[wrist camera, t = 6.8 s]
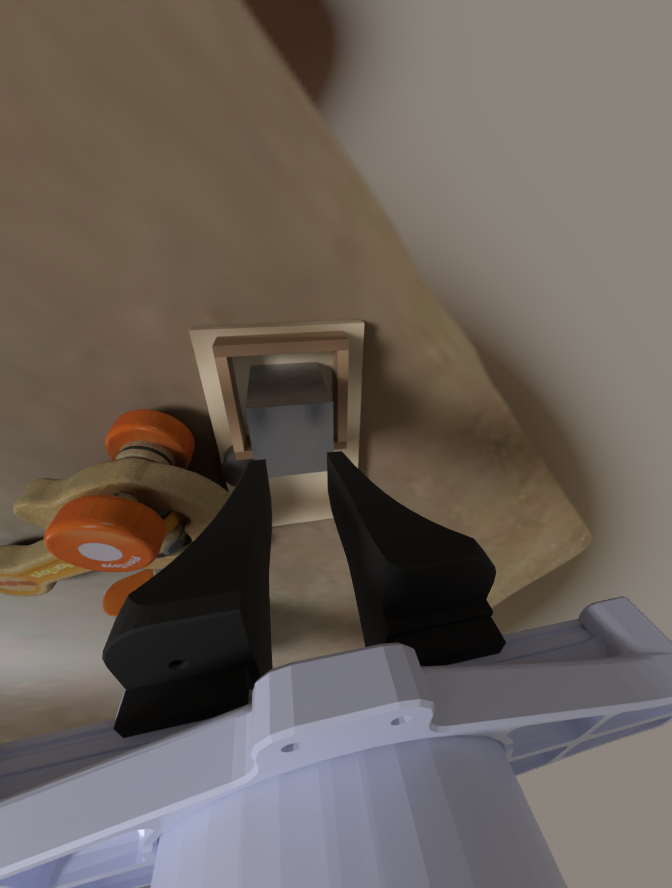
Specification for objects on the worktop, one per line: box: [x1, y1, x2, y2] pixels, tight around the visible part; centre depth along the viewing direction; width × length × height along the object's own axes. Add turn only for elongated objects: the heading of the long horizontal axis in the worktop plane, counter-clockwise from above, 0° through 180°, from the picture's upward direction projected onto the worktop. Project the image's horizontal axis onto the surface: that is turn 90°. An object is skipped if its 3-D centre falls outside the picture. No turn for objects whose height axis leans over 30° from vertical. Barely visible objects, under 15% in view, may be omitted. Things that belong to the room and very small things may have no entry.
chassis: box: [189, 319, 364, 526], centre depth 22 cm, size 16×10×3 cm, turn 1°
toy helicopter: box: [0, 409, 231, 616], centre depth 23 cm, size 8×21×14 cm
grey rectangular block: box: [245, 362, 334, 478], centre depth 18 cm, size 4×4×6 cm
